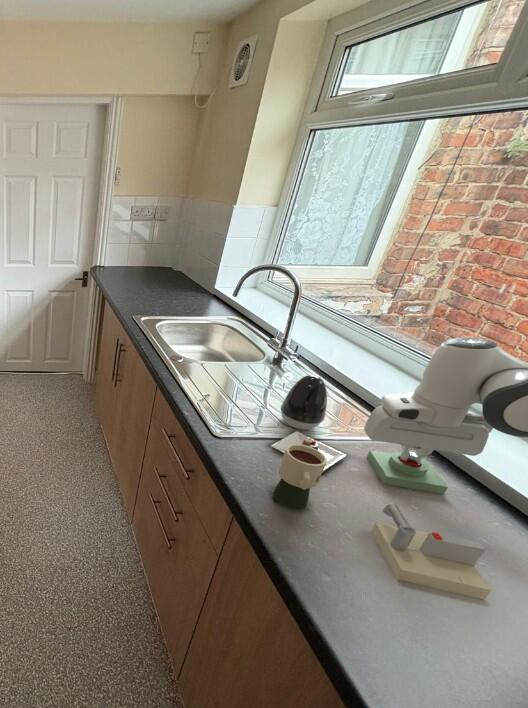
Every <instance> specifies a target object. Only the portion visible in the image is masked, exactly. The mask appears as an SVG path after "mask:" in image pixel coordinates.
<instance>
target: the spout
mask: <svg viewBox="0 0 528 708" xmlns="http://www.w3.org/2000/svg"><path fill="white" fill-rule="evenodd" d="M382 512H383V514H385V515H386V516H387V517H389V518H391V519H392V521H393V522H394V525H395V526H397V527H398V530H397V532H396V533H395V535H394V537H393V539H392V541H391V542H390V544H391V546H392V547H393V548H394V549H396V550H398V551H406V549H407V547H408V546H409V544H410V542H411V541H412V539H413V537H414V535H415V534H416V531H417V530H416V531H415V529H414V528H413V527H412V526H411V525H410V523H409V521H408V520H407V518H406V517H405V515H404V513H403V512H402V510H401V508H400V507H399V506H398V505H397V504H395V503H389V504H386V505H384V507H383V509H382Z"/></svg>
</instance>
